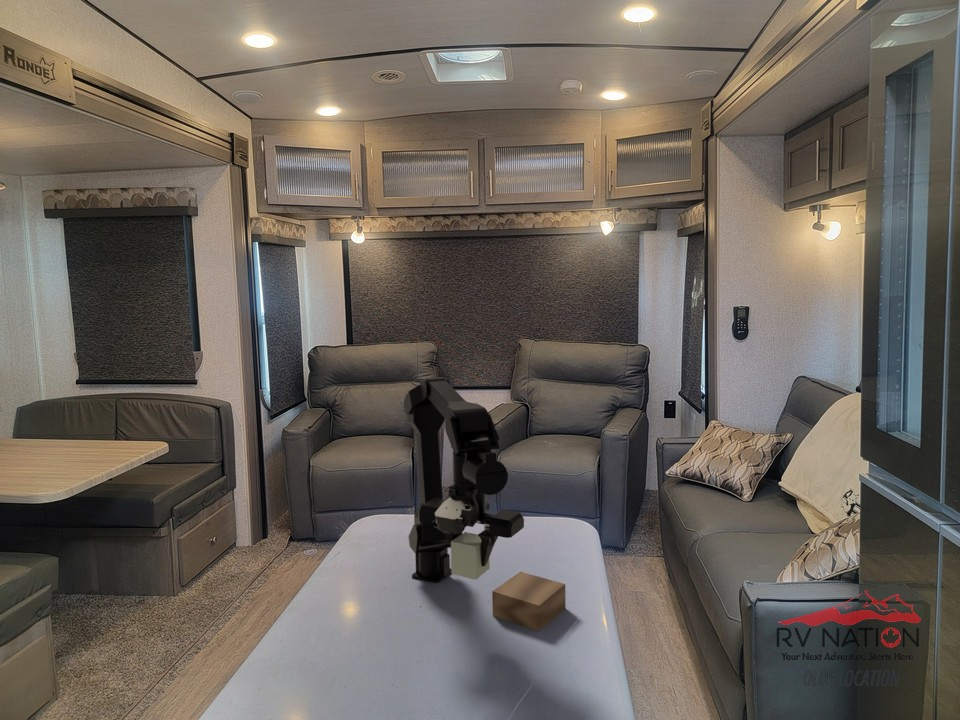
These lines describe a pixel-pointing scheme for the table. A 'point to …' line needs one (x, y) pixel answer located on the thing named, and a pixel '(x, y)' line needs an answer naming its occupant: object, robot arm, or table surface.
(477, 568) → the sage block
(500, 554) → the table surface
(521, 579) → the walnut block
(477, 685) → the table surface
